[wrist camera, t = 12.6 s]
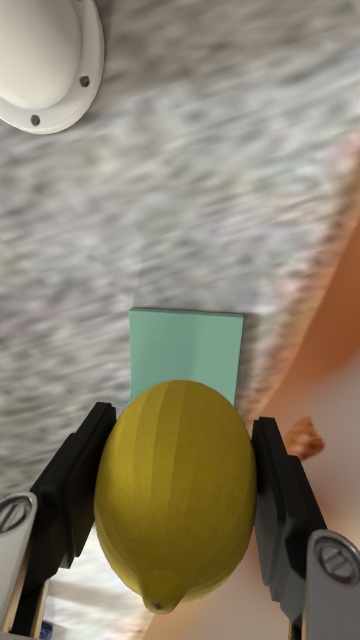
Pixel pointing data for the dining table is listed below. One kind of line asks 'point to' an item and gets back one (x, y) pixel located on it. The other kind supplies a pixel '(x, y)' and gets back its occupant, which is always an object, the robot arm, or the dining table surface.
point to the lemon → (176, 493)
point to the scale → (184, 349)
